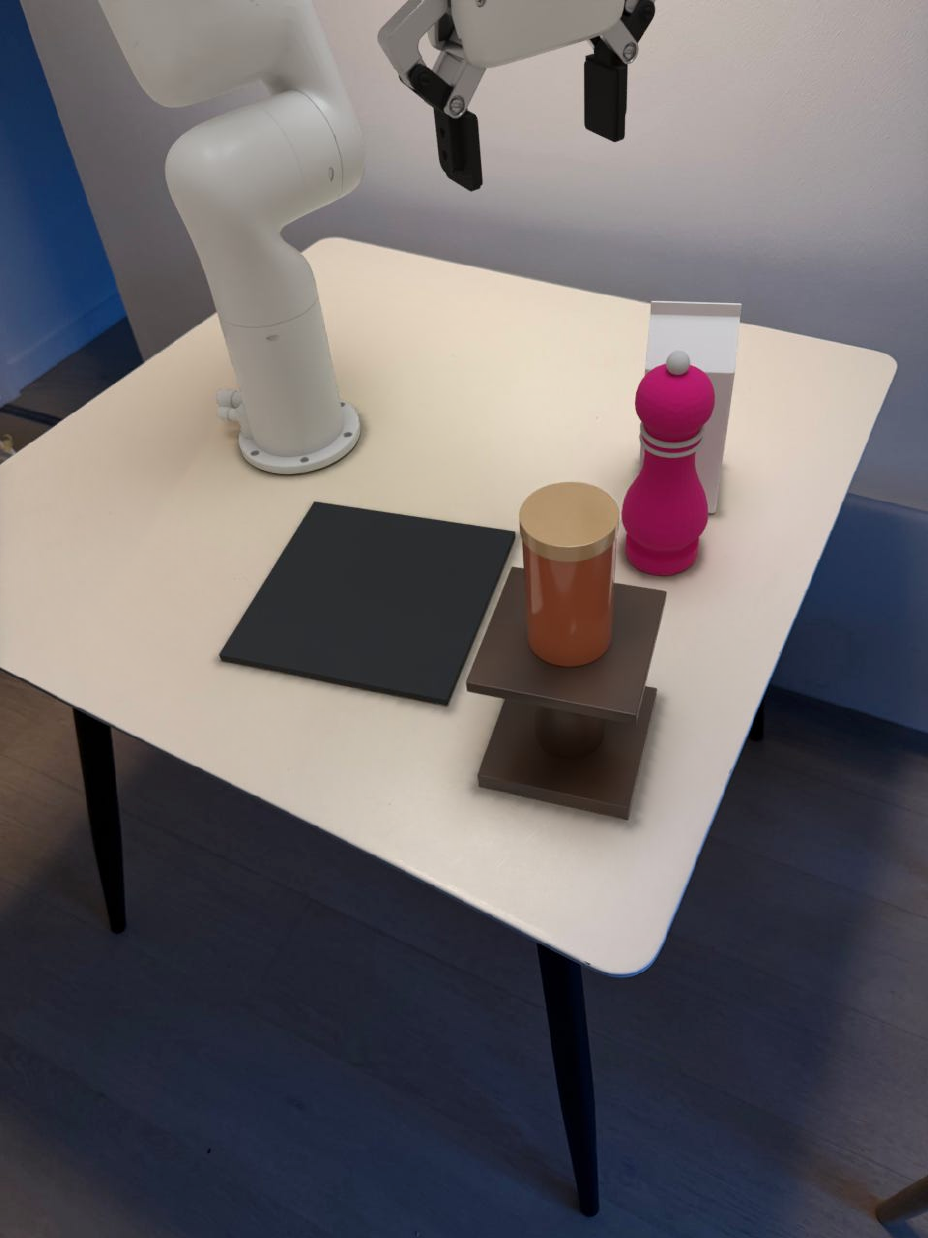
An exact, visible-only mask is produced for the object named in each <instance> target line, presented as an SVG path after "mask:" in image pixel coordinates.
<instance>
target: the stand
mask: <svg viewBox="0 0 928 1238" xmlns="http://www.w3.org/2000/svg"><path fill="white" fill-rule="evenodd" d="M667 594H668V593H667V590H662V589H657V588H650V587H645V586H644V587H643V586H637V585H631V584H625V583H619V582H614V605H613V628H612V640H611V644H610V646H609V648H608V649H607V651H606V652H605V653H604V654H603V655H602V656H601V657H600V658H598V659H597V660H595V661H593V662H591V663H588V664H585V665H582V666H575V667H564V666H558V665H554V664H551V663H548V662H546V661H544V660H542V659H541V658H539V657H538V656H537V655H536V654H535V653H534V652H533V651H532V649H531V648H530V646H529V644H528V640H527V628H526V609H525V589H524V569H523V567H518V566H511V567H510V570H509V572H508V575H507V577H506V581H505V582H504V584H503V588H502V590H501V593H500V594H499V597H498V600H497V603H496V605H495V607H494V610H493V613H492V615H491V617H490V620H489V622H488V625H487V627H486V630H485V633H484V636H483V638H482V641H481V643H480V645H479V648H478V651H477V653H476V655H475V658H474V660H473V663H472V665H471V668H470V671H469V673H468V676H467V677H466V680H465V687H466V692H468V693H471V694H477V695H482V696H487V697H493V698H497V699H503V703H502V705H501V708H500V711H499V713H498V717H497V718H496V721H495V725H494V727H493V730H492V733H491V736H490V738H489V740H488V745H487V747H486V750H485V753H484V754H483V758H482V760H481V763H480V766H479V769H478V772H477V783H478V784H477V785H478V787H480V788H483V789H488V790H493V791H497V792H502V793H505V794H510V795H516V796H520V797H524V798H527V799H533V800H537V801H542V802H547V803H551V804H556V805H561V806H564V807H569V808H574V809H578V810H582V811H588V812H591V813H596V814H600V815H605V816H610V817H615V818H618V819H623V820H629V819H630V815H631V811H632V806H633V803H634V799H635V798H634V797H635V793H636V789H637V785H638V780H639V777H640V772H641V768H642V764H643V759H644V755H645V751H646V746H647V741H648V737H649V733H650V729H651V725H652V719H653V715H654V712H655V707H656V704H657V697H658V688H657V687H653V686H648V685H647V680H648V676H649V673H650V672H649V671H650V668H651V663H652V660H653V655H654V652H655V647H656V643H657V639H658V635H659V631H660V627H661V623H662V619H663V615H664V610H665V607H666V602H667Z"/></svg>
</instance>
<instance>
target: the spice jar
mask: <svg viewBox="0 0 928 1238" xmlns="http://www.w3.org/2000/svg"><path fill="white" fill-rule="evenodd" d="M518 522H519V535H520V538H521V546H522V547H521V549H522V565H523V566H522V568H523V569H524V589H525V609H526V628H527V640H528V644H529V646H530V648H531V649H532V651H533V652H534V653H535V654H536V655H537V656H538V657H539V658H541V659H542V660H544V661H546V662H548V663H551V664H554V665H558V666H564V667H575V666H582V665H585V664H588V663H591V662H593V661H595V660H597V659H598V658H600V657H601V656H602V655H603V654H604V653H605V652H606V651H607V649H608V648H609V646H610V644H611V640H612V628H613V605H614V583H615V577H616V558H617V557H616V556H617V537H618V534H619V527H620V526H619V525H620V510H619V507H618V504H617V501H616V500H615V499H614V498H613V497H612V496H611V495H610V494H609V493H608V492H607V491H605V490H603V489H602V488H600V487H598V486H594V485H593V484H589V483H585V482H580V481H579V482H578V481H563V482H561V481H560V482H556V483H551V484H548V485H545V486H543V487H540V488H537V489H536V490H535V491H533V492H532V493H530V494H529V495H528V496H527V497H526V498H525V499H524V501H523V502H522V504H521V506H520V508H519V513H518Z"/></svg>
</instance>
